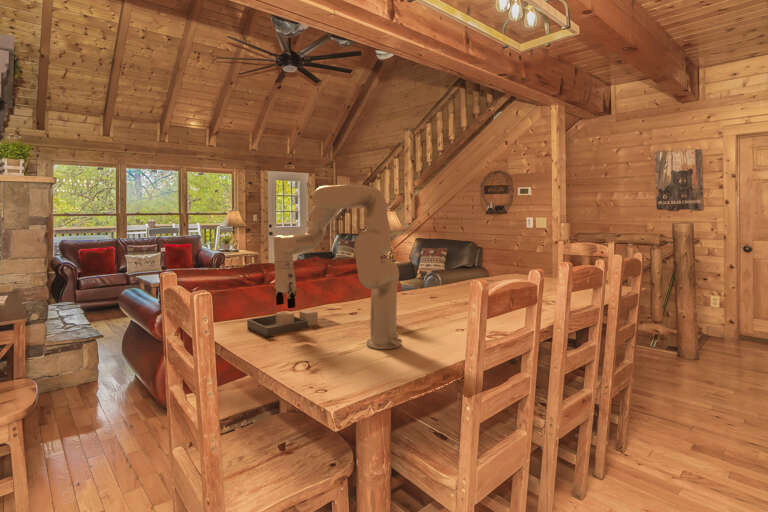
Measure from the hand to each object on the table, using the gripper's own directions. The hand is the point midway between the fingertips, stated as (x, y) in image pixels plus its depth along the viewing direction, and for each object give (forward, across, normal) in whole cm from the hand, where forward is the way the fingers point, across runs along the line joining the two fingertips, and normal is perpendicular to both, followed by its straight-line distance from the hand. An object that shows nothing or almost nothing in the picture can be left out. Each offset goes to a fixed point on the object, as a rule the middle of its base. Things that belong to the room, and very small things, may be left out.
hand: (285, 306), depth 186 cm
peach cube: (+8, +1, 0) cm, 9 cm away
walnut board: (+10, -5, -13) cm, 17 cm away
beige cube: (+9, -3, -9) cm, 13 cm away
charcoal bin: (+9, +1, +4) cm, 10 cm away
